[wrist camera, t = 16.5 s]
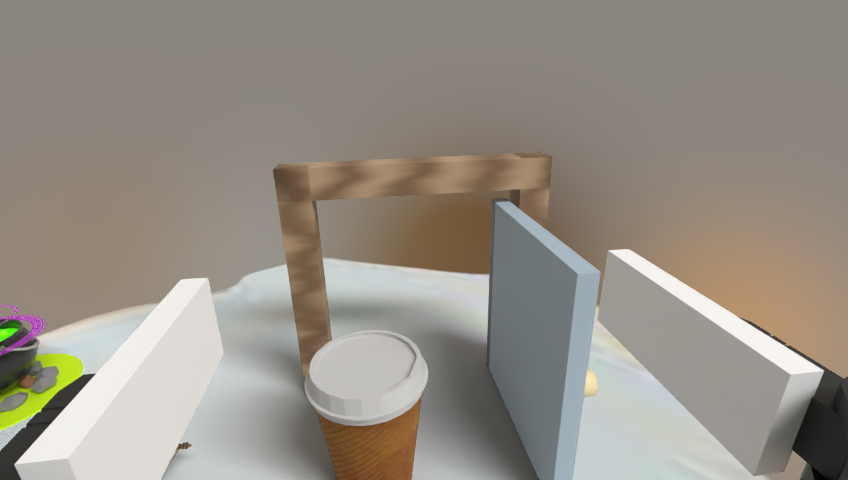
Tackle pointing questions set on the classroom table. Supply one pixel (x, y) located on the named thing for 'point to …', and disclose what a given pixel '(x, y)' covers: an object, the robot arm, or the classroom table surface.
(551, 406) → the door
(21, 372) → the toy cauldron
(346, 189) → the door frame
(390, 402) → the disposable coffee cup
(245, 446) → the classroom table surface
